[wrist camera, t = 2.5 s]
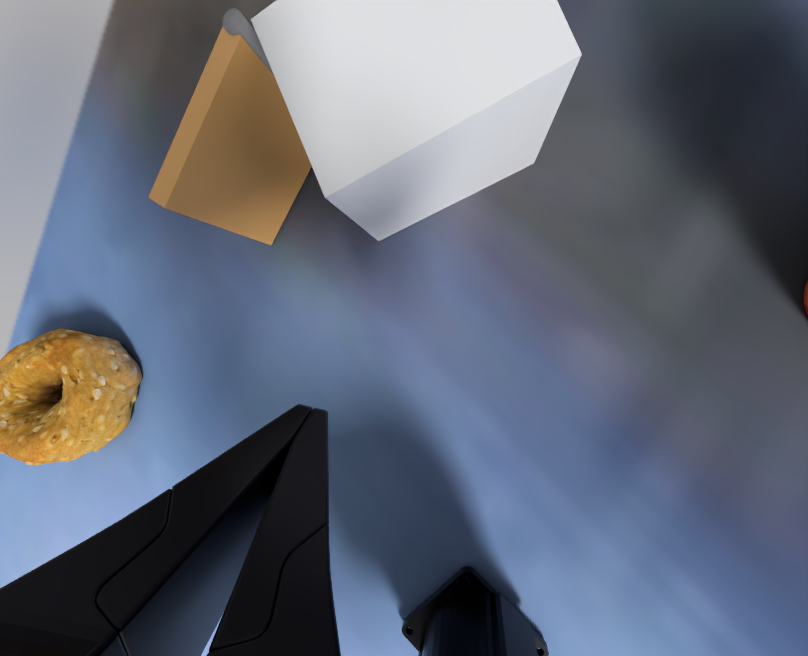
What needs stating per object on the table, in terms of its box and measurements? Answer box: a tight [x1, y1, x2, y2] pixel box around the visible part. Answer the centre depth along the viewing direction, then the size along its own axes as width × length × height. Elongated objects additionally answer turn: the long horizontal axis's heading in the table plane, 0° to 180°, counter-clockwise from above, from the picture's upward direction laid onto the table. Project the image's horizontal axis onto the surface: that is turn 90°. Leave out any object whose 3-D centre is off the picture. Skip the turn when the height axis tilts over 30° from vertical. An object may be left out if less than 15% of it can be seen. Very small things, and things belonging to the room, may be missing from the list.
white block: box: [251, 0, 582, 241], centre depth 15 cm, size 9×10×8 cm
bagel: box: [0, 328, 142, 466], centre depth 23 cm, size 10×11×5 cm
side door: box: [148, 8, 312, 245], centre depth 17 cm, size 8×1×8 cm, turn 148°
